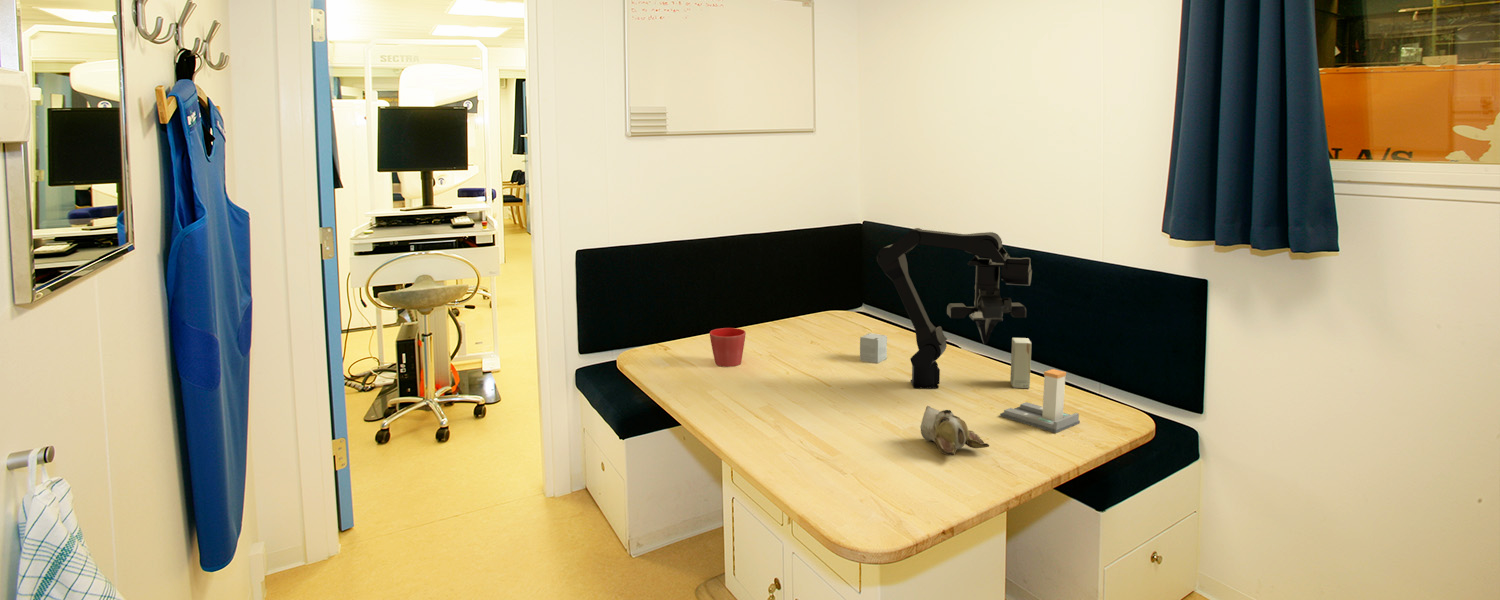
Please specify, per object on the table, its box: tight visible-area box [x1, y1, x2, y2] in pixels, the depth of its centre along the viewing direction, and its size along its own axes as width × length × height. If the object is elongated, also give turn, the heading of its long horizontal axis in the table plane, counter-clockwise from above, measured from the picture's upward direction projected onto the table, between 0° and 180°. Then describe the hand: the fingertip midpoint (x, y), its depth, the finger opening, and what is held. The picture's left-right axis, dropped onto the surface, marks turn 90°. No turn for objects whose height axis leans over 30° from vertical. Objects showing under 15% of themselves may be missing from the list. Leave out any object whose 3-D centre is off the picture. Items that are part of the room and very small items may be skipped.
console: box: [999, 401, 1081, 434], centre depth 187 cm, size 15×10×2 cm, turn 37°
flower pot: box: [709, 327, 747, 368], centre depth 237 cm, size 11×11×10 cm
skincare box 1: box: [859, 332, 888, 364], centre depth 238 cm, size 6×6×7 cm
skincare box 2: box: [1010, 337, 1032, 389], centre depth 211 cm, size 6×4×12 cm
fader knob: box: [1042, 368, 1067, 421], centre depth 183 cm, size 3×3×11 cm
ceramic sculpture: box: [919, 405, 990, 456], centre depth 171 cm, size 11×9×15 cm
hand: (984, 343), depth 205 cm, fingers closed
